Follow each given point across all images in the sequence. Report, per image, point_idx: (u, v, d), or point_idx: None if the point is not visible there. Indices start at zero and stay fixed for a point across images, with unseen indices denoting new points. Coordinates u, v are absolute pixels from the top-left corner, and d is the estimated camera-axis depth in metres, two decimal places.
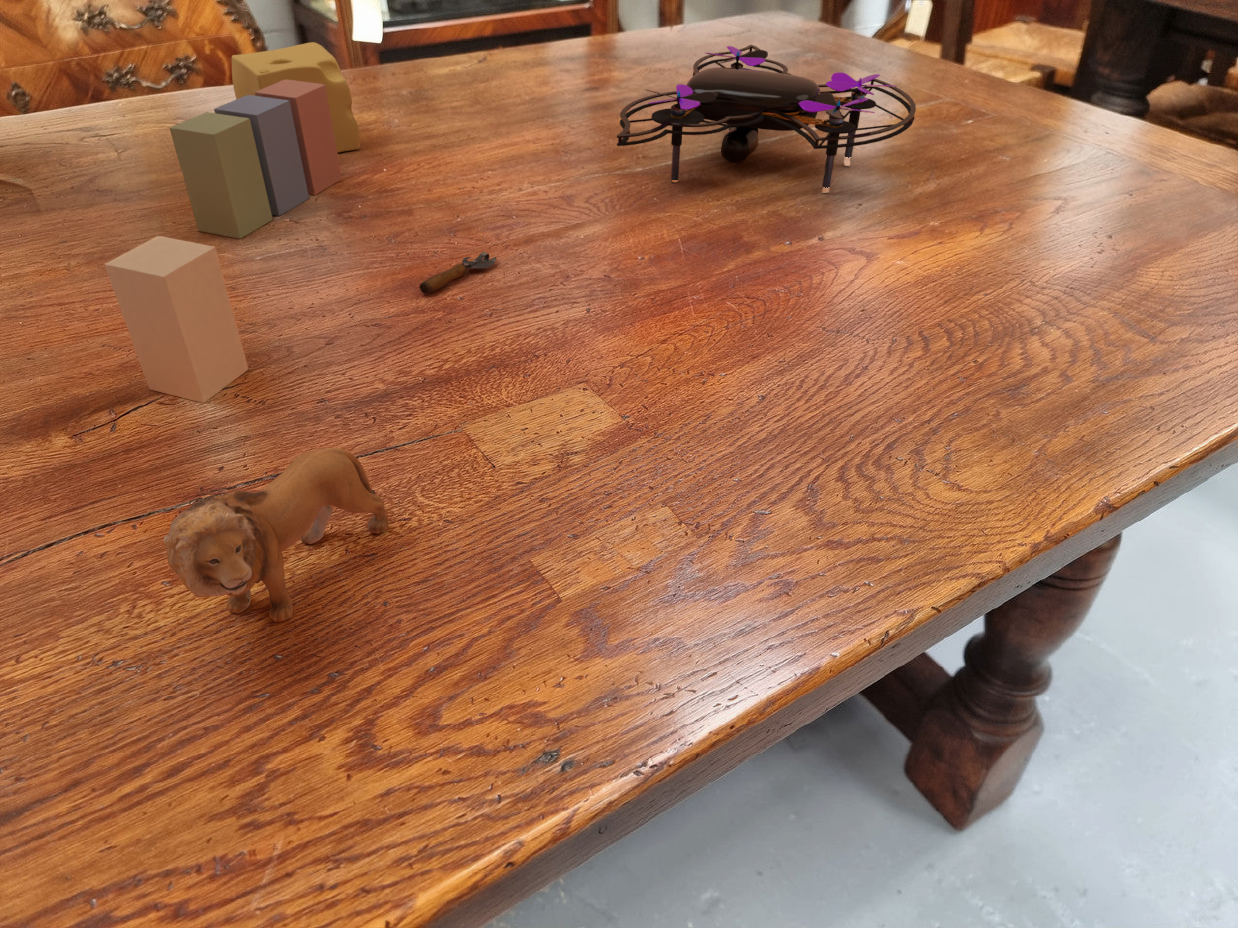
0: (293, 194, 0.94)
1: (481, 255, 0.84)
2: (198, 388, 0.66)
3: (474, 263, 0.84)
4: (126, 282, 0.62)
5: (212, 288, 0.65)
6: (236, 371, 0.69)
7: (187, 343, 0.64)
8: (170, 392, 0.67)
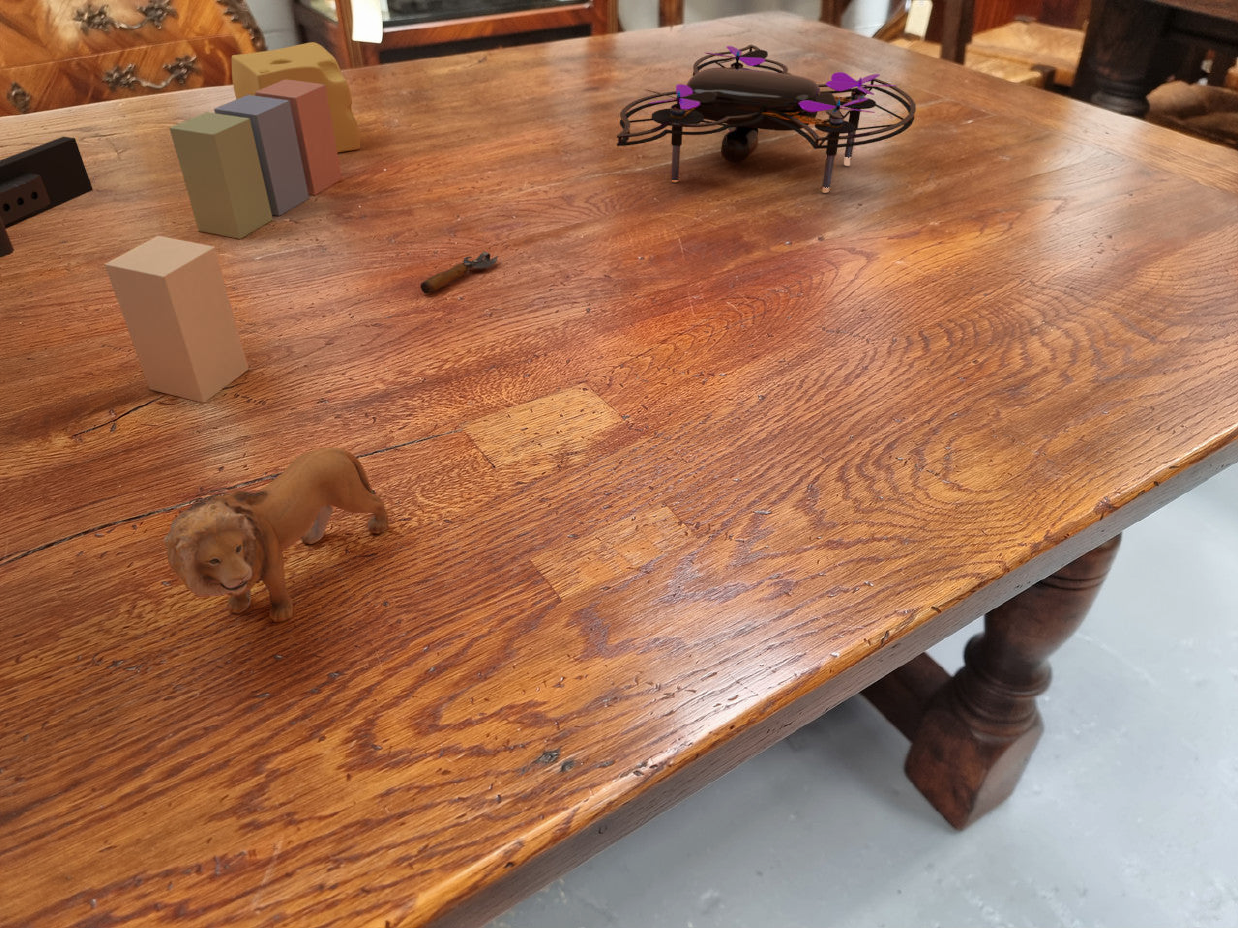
0: (293, 194, 0.94)
1: (482, 255, 0.84)
2: (198, 388, 0.66)
3: (475, 263, 0.83)
4: (126, 282, 0.62)
5: (212, 288, 0.65)
6: (236, 371, 0.69)
7: (187, 343, 0.64)
8: (170, 392, 0.67)
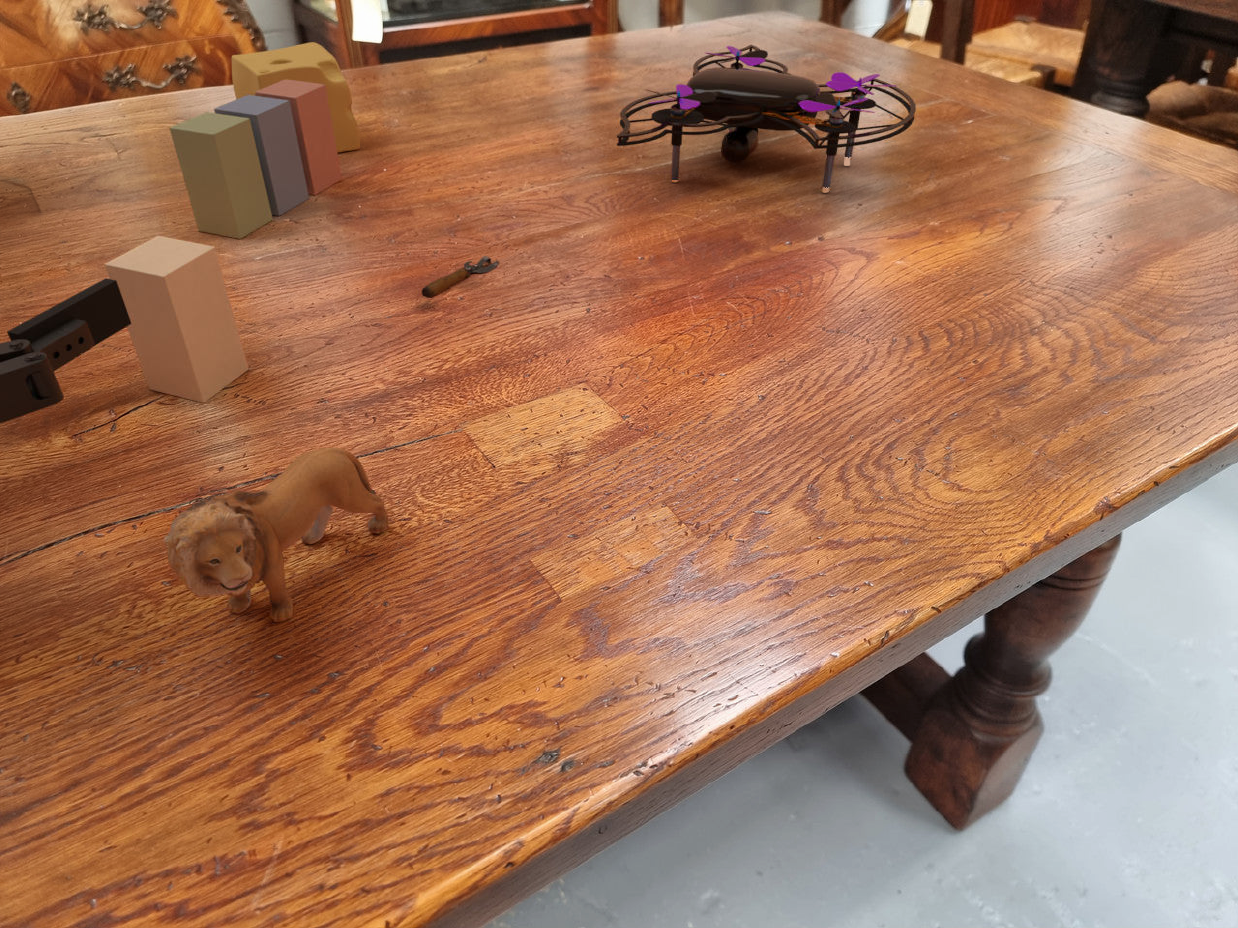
0: (293, 194, 0.94)
1: (483, 259, 0.85)
2: (198, 388, 0.66)
3: (476, 267, 0.84)
4: (126, 282, 0.62)
5: (212, 288, 0.65)
6: (236, 371, 0.69)
7: (187, 343, 0.64)
8: (170, 392, 0.67)
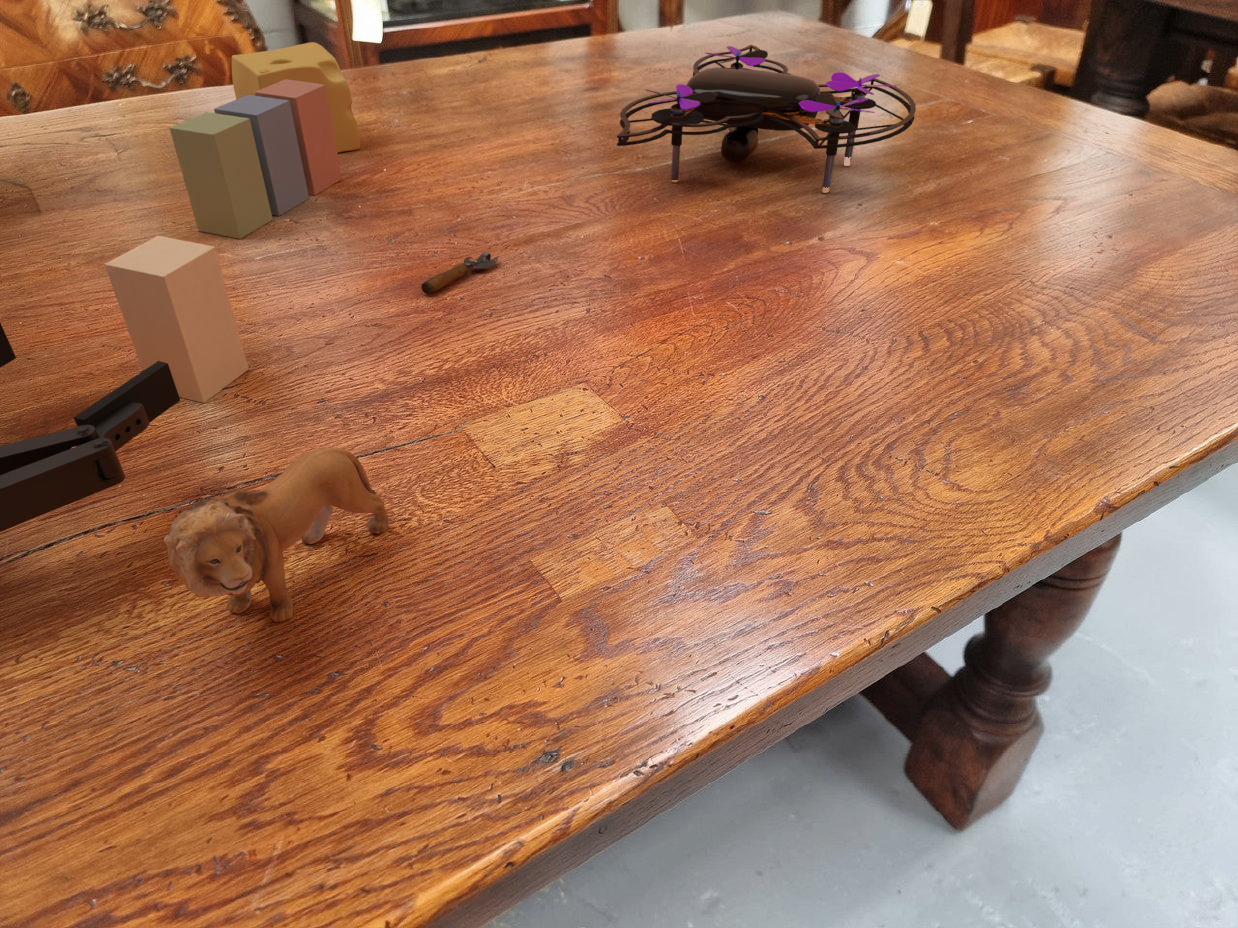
0: (293, 194, 0.94)
1: (483, 255, 0.84)
2: (198, 388, 0.66)
3: (476, 263, 0.83)
4: (126, 282, 0.62)
5: (212, 288, 0.65)
6: (236, 371, 0.69)
7: (187, 343, 0.64)
8: None
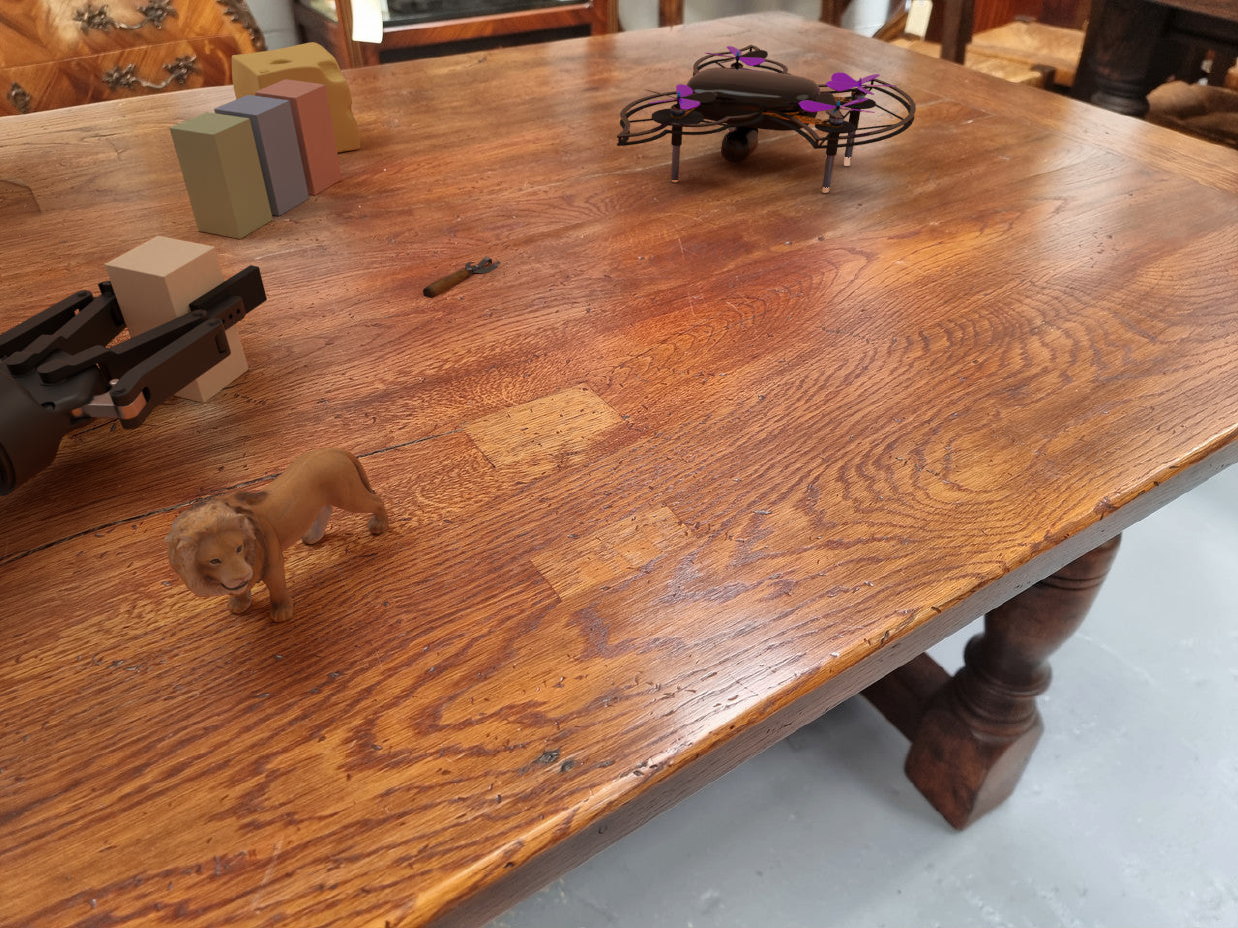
0: (293, 194, 0.94)
1: (484, 260, 0.85)
2: (198, 388, 0.66)
3: (477, 268, 0.84)
4: (126, 282, 0.62)
5: (212, 288, 0.65)
6: (236, 371, 0.69)
7: None
8: None
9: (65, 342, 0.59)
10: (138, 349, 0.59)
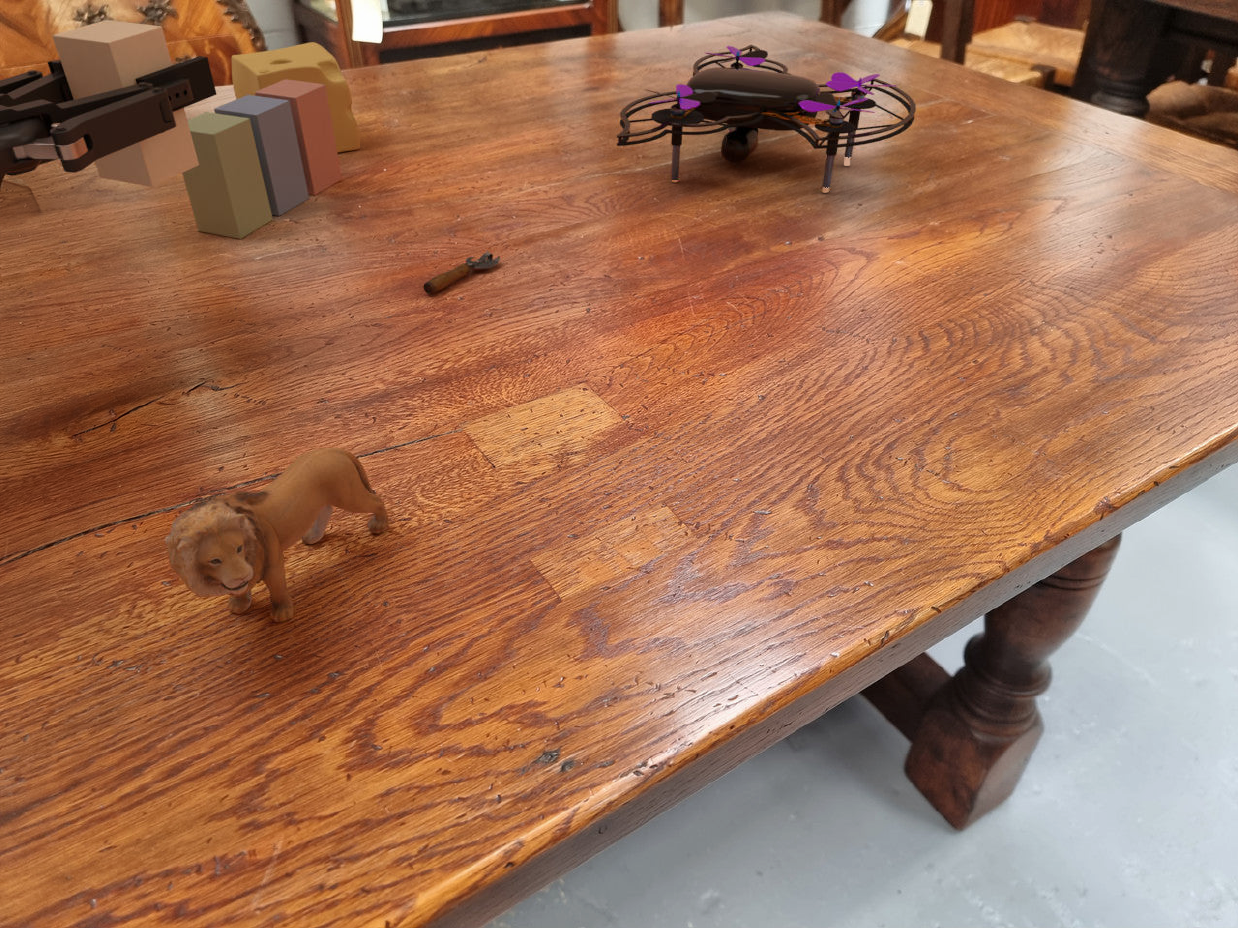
0: (293, 194, 0.94)
1: (485, 255, 0.84)
2: (146, 170, 0.67)
3: (478, 263, 0.83)
4: (73, 54, 0.64)
5: (159, 69, 0.66)
6: (186, 164, 0.71)
7: None
8: (120, 178, 0.69)
9: (11, 102, 0.61)
10: (82, 107, 0.60)
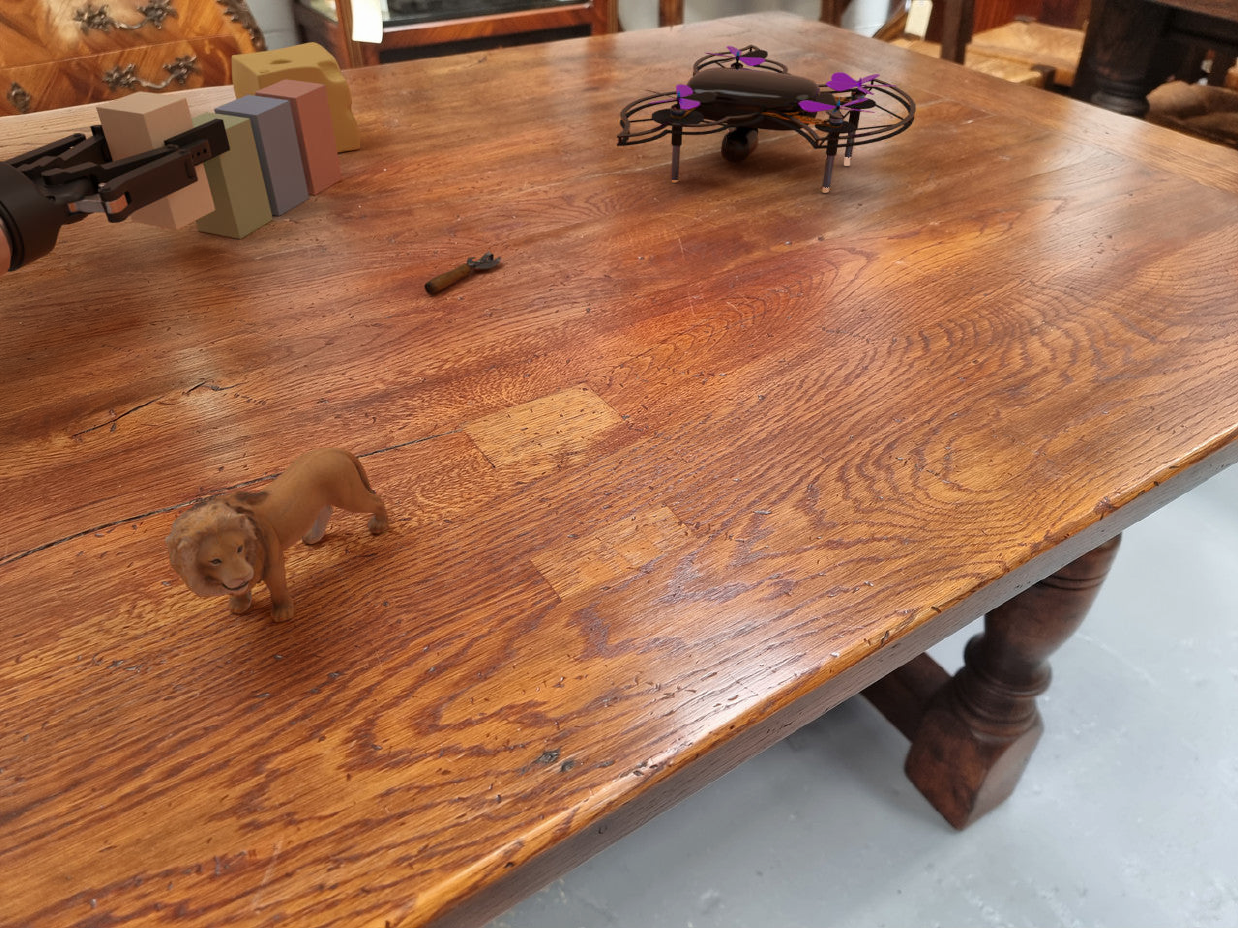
0: (293, 194, 0.94)
1: (486, 255, 0.84)
2: (172, 216, 0.80)
3: (479, 263, 0.83)
4: (113, 122, 0.77)
5: None
6: (205, 209, 0.84)
7: None
8: (150, 222, 0.82)
9: (63, 163, 0.74)
10: (122, 168, 0.73)
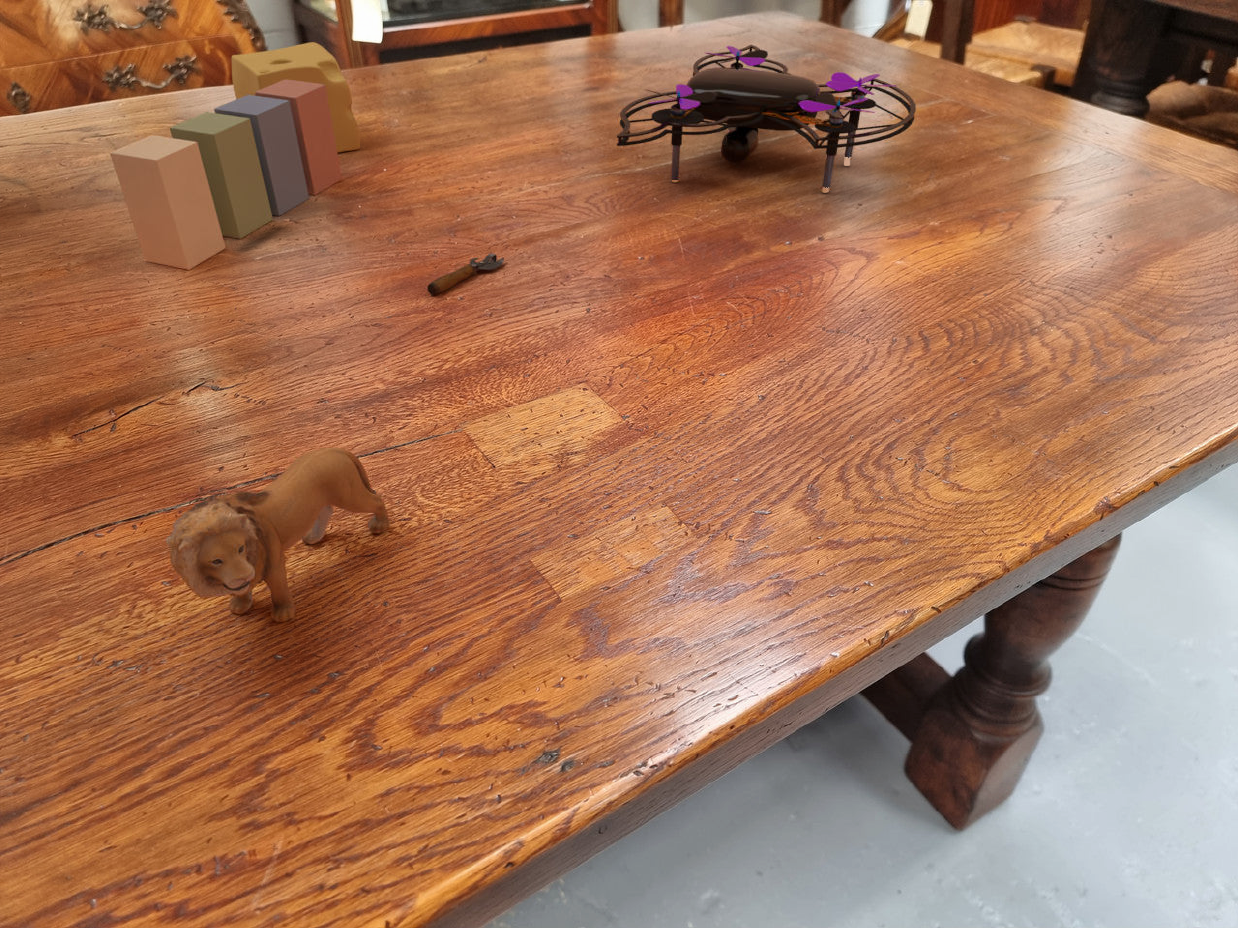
0: (293, 194, 0.94)
1: (489, 256, 0.84)
2: (184, 257, 0.83)
3: (482, 264, 0.84)
4: (126, 167, 0.79)
5: (195, 176, 0.82)
6: (215, 248, 0.86)
7: (175, 217, 0.80)
8: (162, 262, 0.84)
9: None
10: None
